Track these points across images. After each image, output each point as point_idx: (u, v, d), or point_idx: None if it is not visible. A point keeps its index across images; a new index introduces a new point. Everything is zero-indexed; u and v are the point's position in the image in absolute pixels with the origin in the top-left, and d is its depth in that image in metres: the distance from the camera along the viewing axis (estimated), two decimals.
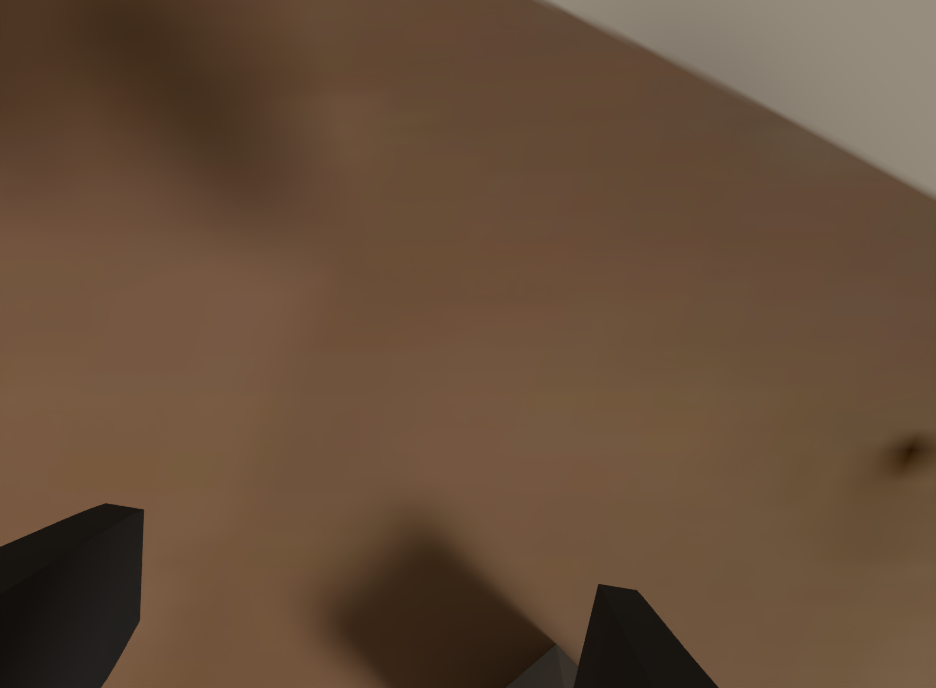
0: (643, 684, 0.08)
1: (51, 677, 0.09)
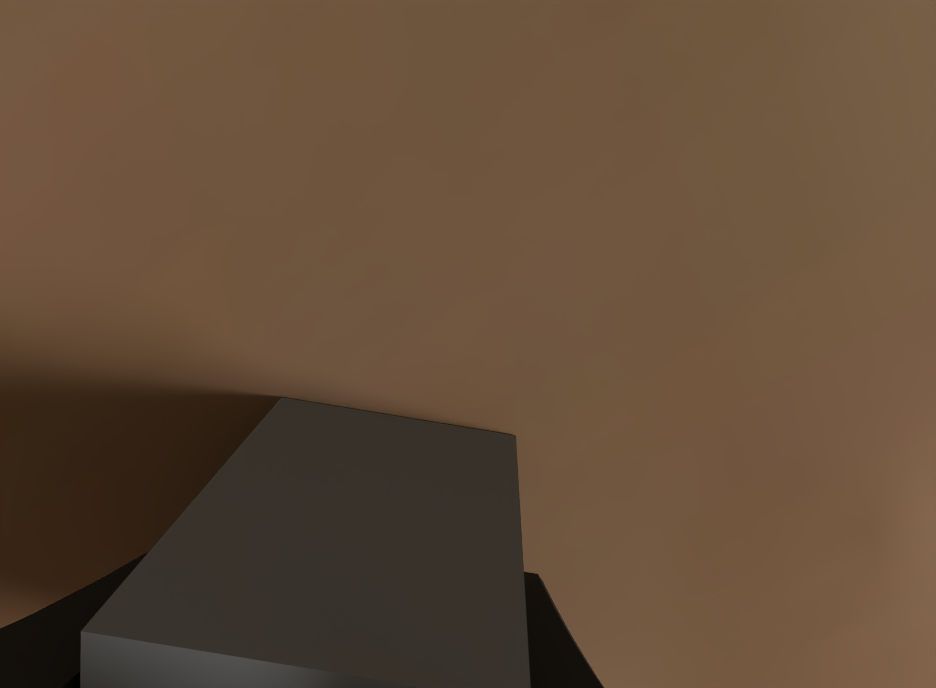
0: None
1: None
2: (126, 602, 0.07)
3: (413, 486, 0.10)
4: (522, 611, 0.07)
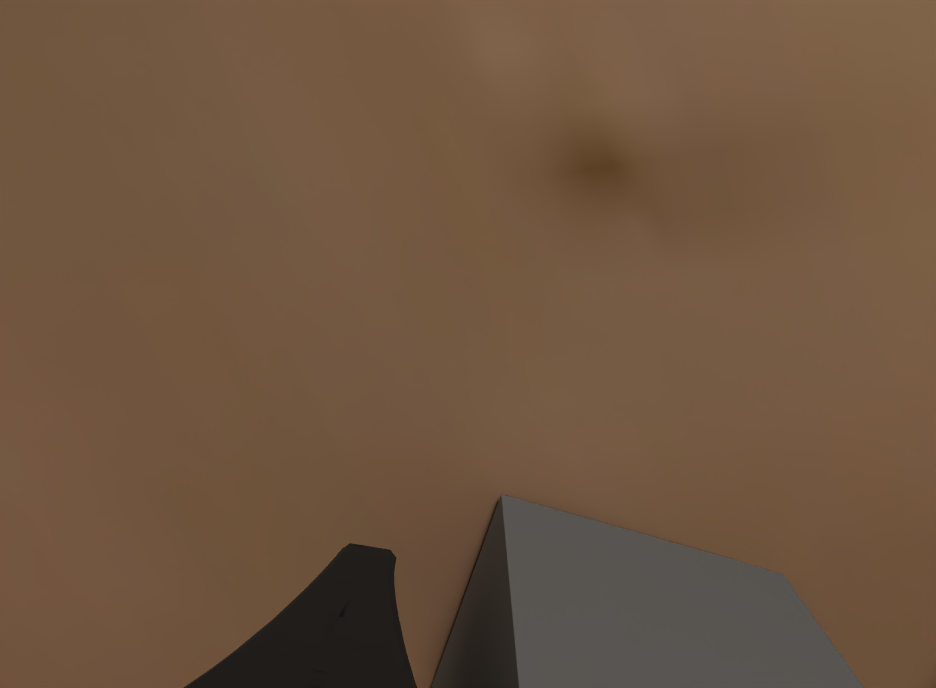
0: None
1: None
2: None
3: (476, 669, 0.10)
4: None
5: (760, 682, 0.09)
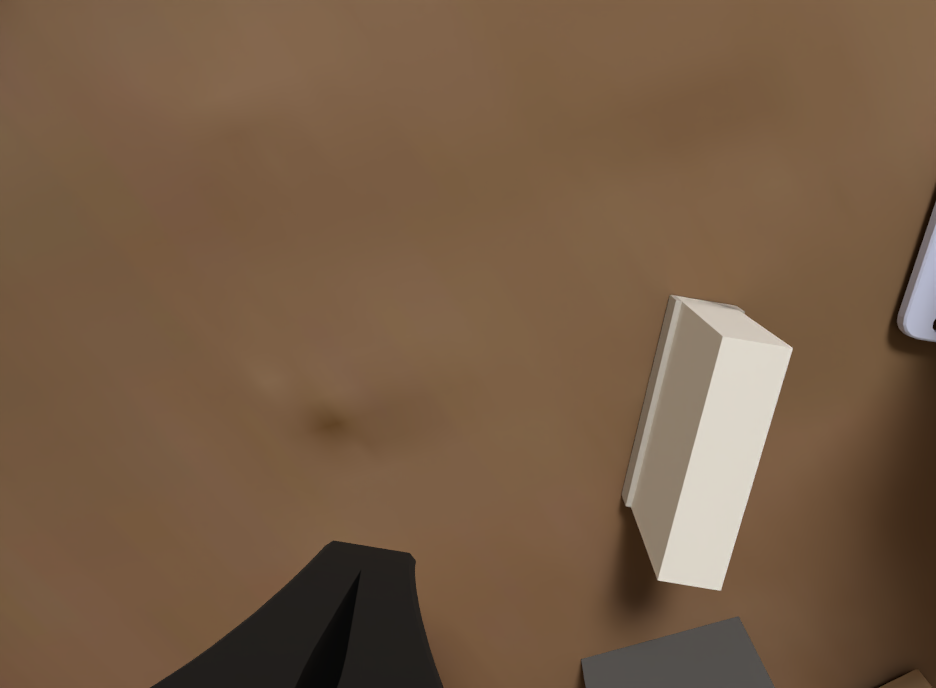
0: None
1: None
2: None
3: None
4: None
5: None
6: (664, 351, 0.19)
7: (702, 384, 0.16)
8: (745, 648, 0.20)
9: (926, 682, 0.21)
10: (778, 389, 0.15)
